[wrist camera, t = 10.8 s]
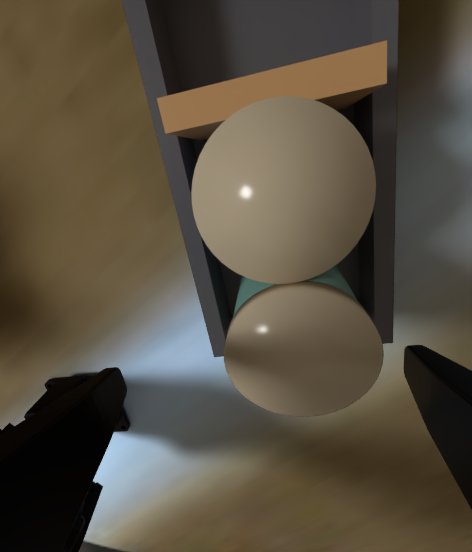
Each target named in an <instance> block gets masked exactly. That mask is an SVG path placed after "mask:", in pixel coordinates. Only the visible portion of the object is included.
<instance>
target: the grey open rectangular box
mask: <svg viewBox="0 0 472 552" xmlns="http://www.w3.org/2000/svg"><path fill="white" fill-rule="evenodd" d="M122 3H123V7H124V11H125V15H126V19H127V22H128V26H129V30H130V34H131V38H132V42H133V46H134V49H135V53H136V57H137V61H138V65H139V69H140V73H141V76H142V80H143V84H144V88H145V92H146V96H147V100H148V103H149V107H150V111H151V115H152V119H153V123H154V127H155V130H156V134H157V138H158V142H159V146H160V150H161V154H162V157H163V161H164V165H165V169H166V173H167V177H168V181H169V184H170V188H171V192H172V196H173V200H174V204H175V208H176V211H177V215H178V219H179V223H180V227H181V231H182V235H183V238H184V242H185V246H186V250H187V254H188V258H189V261H190V265H191V269H192V273H193V277H194V281H195V285H196V288H197V292H198V296H199V300H200V304H201V308H202V312H203V315H204V319H205V323H206V327H207V331H208V335H209V339H210V342H211V346H212V350H213V354H214V357H221V356H224V348H225V342H226V338H227V333H228V329H229V326H230V323H231V320H232V318H233V316H234V311H235V306H236V301H237V296H238V292H239V287H240V282H241V277H242V275H240V274H238V273H236V272H234V271H233V270H231V269H229V268H228V267H227V266H226V265H224V264H223V263H222V262H221V261H220V260H219V259H218V258H217V257H216V256H215V255H214V254H213V253H212V252H211V250H210V249H209V248H208V247H207V245H206V243H205V242H204V240H203V238H202V237H201V234H200V232H199V230H198V228H197V225H196V221H195V218H194V214H193V208H192V195H191V191H192V180H193V175H194V170H195V167H196V164H197V161H198V158H199V156H200V154H201V152H202V150H203V148H204V146H205V144H206V142H207V141H208V140H209V139H205V140H196V139H191V138H185V137H180V136H175V135H169V134H165V130H164V126H163V122H162V118H161V114H160V110H159V106H158V102H157V98H160V97H164V96H168V95H172V94H176V93H180V92H184V91H188V90H192V89H196V88H200V87H204V86H208V85H212V84H216V83H220V82H224V81H228V80H232V79H236V78H240V77H244V76H248V75H252V74H255V73H259V72H263V71H267V70H271V69H275V68H279V67H283V66H287V65H291V64H295V63H299V62H303V61H307V60H311V59H315V58H319V57H323V56H327V55H331V54H335V53H339V52H343V51H347V50H351V49H355V48H359V47H363V46H367V45H371V44H375V43H378V42H382V41H386V40H387V84H385V85H383V86H382V87H380V88H379V89H377V90H375V91H374V92H372V93H370V94H369V95H367V96H366V97H364V98H362V99H361V100H359V101H357V102H356V103H354V104H353V105H351V106H349V107H348V108H346V109H342V110H338V111H337V112H339V113H340V114H342V115H343V116H344V117H345V118H346V119H347V120H348V121H350V122H351V123H352V124H353V125H354V127H355V128H356V129H357V131H358V132H359V133H360V135H361V136H362V138H363V139H364V141H365V143H366V145H367V147H368V149H369V152H370V155H371V157H372V160H373V165H374V170H375V177H376V194H375V202H374V207H373V212H372V215H371V217H370V220H369V223H368V225H367V227H366V229H365V231H364V233H363V235H362V237H361V238H360V240H359V241H358V243H357V244H356V246H355V247H354V248H353V249H352V250H351V252H350V253H349V254H348V255H347V256H346V257H345V258H344V259H342V260H341V261H340V262H339V263H338V264H337V265H338V267H339V269H340V271H341V273H342V274H343V276H344V278H345V280H346V281H347V283H348V285H349V287H350V288H351V290H352V292H353V294H354V296H355V297H356V299H357V301H358V302H359V303H360V304H361V305H362V306H363V308H364V309H365V310H366V312H367V313H368V315H369V317H370V318H371V320H372V322H373V324H374V325H375V327H376V329H377V331H378V333H379V335H380V337H381V341H382V344H384V343H393V302H394V244H395V186H396V128H397V70H398V12H399V0H122Z"/></svg>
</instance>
